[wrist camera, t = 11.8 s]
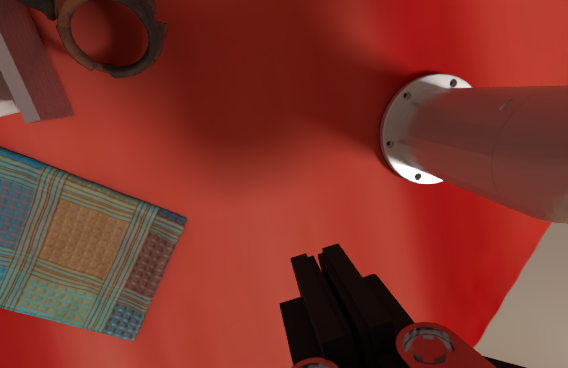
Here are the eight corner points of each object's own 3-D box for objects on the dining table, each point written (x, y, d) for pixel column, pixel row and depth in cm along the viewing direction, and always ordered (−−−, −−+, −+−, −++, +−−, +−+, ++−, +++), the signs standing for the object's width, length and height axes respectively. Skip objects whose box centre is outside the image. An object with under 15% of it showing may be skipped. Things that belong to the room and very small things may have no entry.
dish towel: (-41, 127, 33) (-63, 130, 30) (190, 213, 38) (187, 222, 36) (-83, 275, 36) (-106, 288, 33) (137, 334, 41) (131, 350, 39)
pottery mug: (170, -34, 32) (175, -7, 26) (159, 60, 37) (161, 98, 32) (12, -87, 26) (-24, -67, 21) (27, 32, 32) (1, 72, 27)
